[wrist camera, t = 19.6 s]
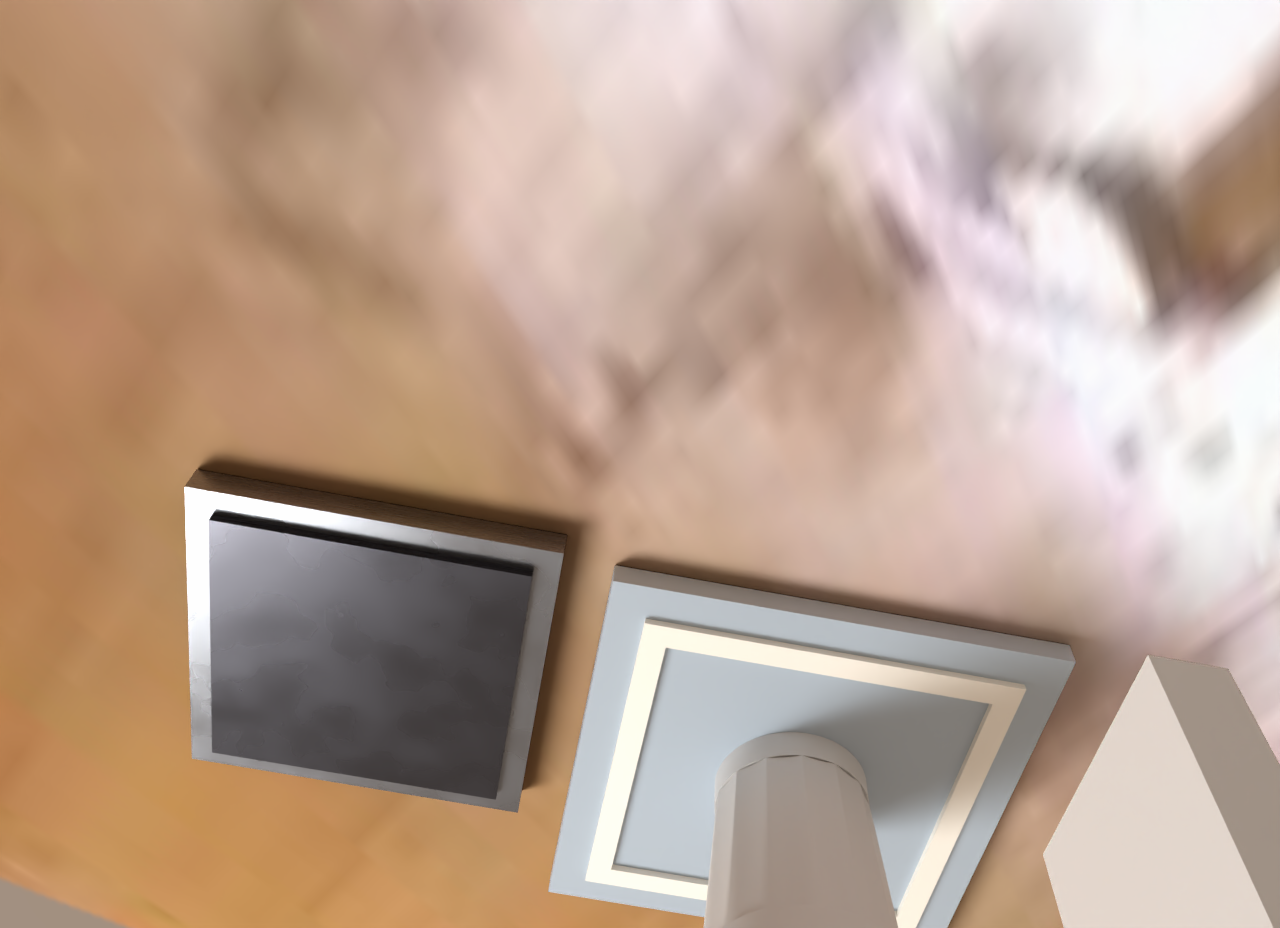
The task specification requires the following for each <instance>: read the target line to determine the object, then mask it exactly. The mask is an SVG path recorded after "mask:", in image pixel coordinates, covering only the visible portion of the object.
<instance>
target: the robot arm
mask: <svg viewBox="0 0 1280 928" xmlns="http://www.w3.org/2000/svg"><path fill="white" fill-rule="evenodd" d="M1043 856H1044V860H1045V863H1046V867H1047V870H1048V874H1049V877H1050V881H1051V884H1052V888H1053V891H1054V895H1055V898H1056V902H1057V905H1058V909H1059V912H1060V916H1061V919H1062V922H1063V926H1064V928H1280V764H1279V763H1278V761H1277V759H1276V757H1275V755H1274V753H1273V751H1272V750H1271V748H1270V746H1269V744H1268V742H1267V740H1266V738H1265V737H1264V735H1263V733H1262V731H1261V729H1260V727H1259V725H1258V724H1257V722H1256V720H1255V718H1254V716H1253V714H1252V712H1251V710H1250V709H1249V707H1248V705H1247V703H1246V701H1245V699H1244V697H1243V696H1242V694H1241V692H1240V690H1239V688H1238V686H1237V684H1236V683H1235V681H1234V679H1233V677H1232V675H1231V673H1230V671H1229V670H1228V669H1226V668H1220V667H1215V666H1209V665H1203V664H1198V663H1192V662H1186V661H1181V660H1175V659H1169V658H1164V657H1158V656H1152V655H1147V657H1146V659H1145V661H1144V663H1143V665H1142V667H1141V669H1140V671H1139V673H1138V675H1137V676H1136V678H1135V680H1134V682H1133V684H1132V686H1131V688H1130V690H1129V692H1128V694H1127V695H1126V697H1125V699H1124V701H1123V703H1122V705H1121V707H1120V709H1119V711H1118V713H1117V715H1116V716H1115V718H1114V720H1113V722H1112V724H1111V726H1110V728H1109V730H1108V732H1107V734H1106V735H1105V737H1104V739H1103V741H1102V743H1101V745H1100V747H1099V749H1098V751H1097V753H1096V755H1095V756H1094V758H1093V760H1092V762H1091V764H1090V766H1089V768H1088V770H1087V772H1086V774H1085V775H1084V777H1083V779H1082V781H1081V783H1080V785H1079V787H1078V789H1077V791H1076V793H1075V795H1074V796H1073V798H1072V800H1071V802H1070V804H1069V806H1068V808H1067V810H1066V812H1065V814H1064V815H1063V817H1062V819H1061V821H1060V823H1059V825H1058V827H1057V829H1056V831H1055V833H1054V835H1053V836H1052V838H1051V840H1050V842H1049V844H1048V846H1047V848H1046V850H1045V852H1044V854H1043Z"/></svg>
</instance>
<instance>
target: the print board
mask: <svg viewBox="0 0 1280 928" xmlns="http://www.w3.org/2000/svg"><path fill="white" fill-rule="evenodd" d="M1075 663H1076V661H1075V658H1074V656H1073V653H1072V650H1071V648H1070V645H1065V644H1060V643H1054V642H1048V641H1043V640H1037V639H1031V638H1026V637H1020V636H1014V635H1009V634H1003V633H997V632H992V631H986V630H980V629H975V628H969V627H963V626H958V625H952V624H946V623H941V622H935V621H929V620H924V619H918V618H912V617H907V616H901V615H895V614H890V613H884V612H878V611H872V610H867V609H861V608H855V607H850V606H844V605H838V604H833V603H827V602H821V601H816V600H810V599H804V598H799V597H793V596H787V595H782V594H776V593H770V592H765V591H759V590H753V589H748V588H742V587H736V586H731V585H725V584H719V583H714V582H708V581H702V580H697V579H691V578H685V577H680V576H674V575H668V574H663V573H657V572H651V571H645V570H640V569H634V568H628V567H623V566H617V565H615V567H614V572H613V577H612V582H611V587H610V591H609V596H608V601H607V606H606V611H605V616H604V620H603V625H602V630H601V635H600V640H599V645H598V649H597V654H596V659H595V664H594V669H593V674H592V678H591V683H590V688H589V693H588V698H587V702H586V707H585V712H584V717H583V722H582V727H581V731H580V736H579V741H578V746H577V751H576V756H575V760H574V765H573V770H572V775H571V780H570V784H569V789H568V794H567V799H566V804H565V809H564V813H563V818H562V823H561V828H560V833H559V838H558V842H557V847H556V852H555V857H554V862H553V866H552V871H551V877H550V884H549V891H548V892H554V893H560V894H566V895H572V896H578V897H584V898H590V899H596V900H603V901H609V902H615V903H621V904H627V905H633V906H639V907H645V908H652V909H658V910H664V911H670V912H676V913H682V914H688V915H694V916H701V917H705V909H706V900H707V890H708V880H709V870H710V860H711V850H712V840H713V831H714V821H715V812H714V793H715V778H716V774H717V771H718V769H719V767H720V765H721V764H722V762H723V761H724V760H725V758H726V757H727V756H728V755H729V754H730V753H731V752H732V751H734V750H735V749H736V748H738V747H739V746H741V745H742V744H744V743H746V742H748V741H750V740H752V739H755V738H758V737H761V736H764V735H768V734H774V733H782V732H800V733H808V734H813V735H817V736H821V737H824V738H827V739H829V740H832V741H834V742H836V743H838V744H839V745H841V746H842V747H844V748H845V749H847V750H848V751H849V752H850V753H851V754H852V755H853V756H854V757H855V758H856V759H857V760H858V762H859V763H860V765H861V766H862V768H863V771H864V773H865V777H866V783H867V790H868V797H869V805H870V810H871V814H872V818H873V822H874V827H875V831H876V835H877V839H878V844H879V848H880V852H881V856H882V861H883V865H884V869H885V873H886V878H887V882H888V886H889V890H890V895H891V899H892V903H893V907H894V912H895V916H896V920H897V924H898V928H947V927H948V925H949V923H950V921H951V919H952V917H953V915H954V912H955V910H956V908H957V906H958V904H959V902H960V900H961V898H962V896H963V894H964V892H965V890H966V888H967V886H968V884H969V882H970V880H971V877H972V875H973V873H974V871H975V869H976V867H977V865H978V863H979V861H980V859H981V857H982V855H983V853H984V851H985V849H986V847H987V845H988V842H989V840H990V838H991V836H992V834H993V832H994V830H995V828H996V826H997V824H998V822H999V820H1000V818H1001V816H1002V814H1003V812H1004V810H1005V807H1006V805H1007V803H1008V801H1009V799H1010V797H1011V795H1012V793H1013V791H1014V789H1015V787H1016V785H1017V783H1018V781H1019V779H1020V777H1021V774H1022V772H1023V770H1024V768H1025V766H1026V764H1027V762H1028V760H1029V758H1030V756H1031V754H1032V752H1033V750H1034V748H1035V746H1036V744H1037V742H1038V739H1039V737H1040V735H1041V733H1042V731H1043V729H1044V727H1045V725H1046V723H1047V721H1048V719H1049V717H1050V715H1051V713H1052V711H1053V709H1054V707H1055V704H1056V702H1057V700H1058V698H1059V696H1060V694H1061V692H1062V690H1063V688H1064V686H1065V684H1066V682H1067V680H1068V678H1069V676H1070V674H1071V672H1072V669H1073V667H1074V665H1075Z"/></svg>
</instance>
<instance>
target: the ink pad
mask: <svg viewBox="0 0 1280 928" xmlns="http://www.w3.org/2000/svg"><path fill="white" fill-rule="evenodd" d="M185 519H186V556H187V593H188V629H189V666H190V703H191V740H192V759H198V760H204V761H210V762H216V763H222V764H229V765H235V766H241V767H247V768H253V769H259V770H265V771H271V772H277V773H283V774H289V775H295V776H301V777H307V778H313V779H319V780H325V781H331V782H337V783H343V784H349V785H355V786H361V787H367V788H373V789H379V790H385V791H391V792H397V793H403V794H409V795H415V796H421V797H427V798H433V799H439V800H445V801H451V802H457V803H463V804H469V805H475V806H481V807H487V808H493V809H499V810H505V811H511V812H517V813H518V808H519V802H520V797H521V792H522V786H523V780H524V775H525V769H526V763H527V758H528V752H529V747H530V741H531V735H532V730H533V724H534V719H535V713H536V707H537V702H538V696H539V691H540V685H541V679H542V674H543V668H544V662H545V657H546V651H547V646H548V640H549V634H550V629H551V623H552V618H553V612H554V606H555V601H556V595H557V589H558V584H559V578H560V573H561V567H562V561H563V556H564V550H565V545H566V539H567V535H564V534H559V533H553V532H547V531H542V530H536V529H530V528H525V527H519V526H513V525H508V524H502V523H496V522H491V521H485V520H479V519H474V518H468V517H463V516H457V515H451V514H446V513H440V512H434V511H429V510H423V509H417V508H412V507H406V506H400V505H395V504H389V503H383V502H378V501H372V500H366V499H361V498H355V497H350V496H344V495H338V494H333V493H327V492H321V491H316V490H310V489H304V488H299V487H293V486H287V485H282V484H276V483H270V482H265V481H259V480H254V479H248V478H242V477H237V476H231V475H225V474H220V473H214V472H208V471H203V470H196V471H195V473H194V474H193V475H192V477H191V478H190V480H189V481H188V483H187V484H186V486H185Z"/></svg>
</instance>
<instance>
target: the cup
mask: <svg viewBox="0 0 1280 928" xmlns="http://www.w3.org/2000/svg"><path fill="white" fill-rule="evenodd" d="M714 812H715V821H714V831H713V840H712V850H711V860H710V870H709V880H708V890H707V900H706V909H705V919H704V928H898V924H897V920H896V916H895V912H894V907H893V903H892V899H891V895H890V890H889V886H888V882H887V878H886V873H885V869H884V865H883V861H882V856H881V852H880V848H879V844H878V839H877V835H876V831H875V827H874V822H873V818H872V814H871V810H870V805H869V797H868V790H867V783H866V777H865V773H864V771H863V768H862V766H861V765H860V763H859V762H858V760H857V759H856V758H855V757H854V756H853V755H852V754H851V753H850V752H849V751H848V750H847V749H845V748H844V747H842V746H841V745H839V744H838V743H836V742H834V741H832V740H829V739H827V738H824V737H821V736H817V735H813V734H808V733H800V732H782V733H774V734H768V735H764V736H761V737H758V738H755V739H752V740H750V741H748V742H746V743H744V744H742V745H741V746H739V747H738V748H736V749H735V750H734V751H732V752H731V753H730V754H729V755H728V756H727V757H726V758H725V760H724V761H723V762H722V764H721V765H720V767H719V769H718V771H717V774H716V778H715V793H714Z"/></svg>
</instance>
